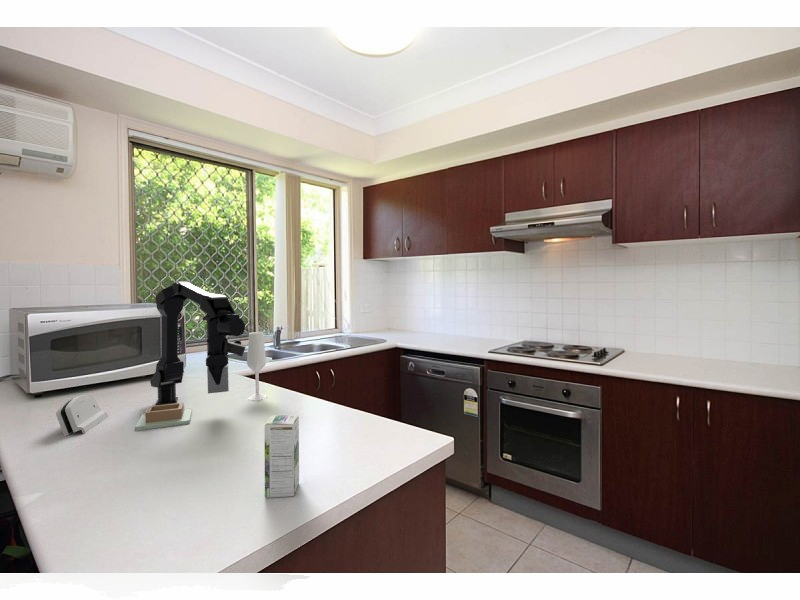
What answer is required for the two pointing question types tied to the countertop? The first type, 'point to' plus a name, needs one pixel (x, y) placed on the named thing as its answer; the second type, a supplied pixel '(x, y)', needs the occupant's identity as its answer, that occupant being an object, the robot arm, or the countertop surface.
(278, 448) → the syrup box
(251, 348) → the champagne flute
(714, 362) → the countertop surface
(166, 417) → the post socket
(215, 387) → the brushed grey metal block
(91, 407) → the hinge
